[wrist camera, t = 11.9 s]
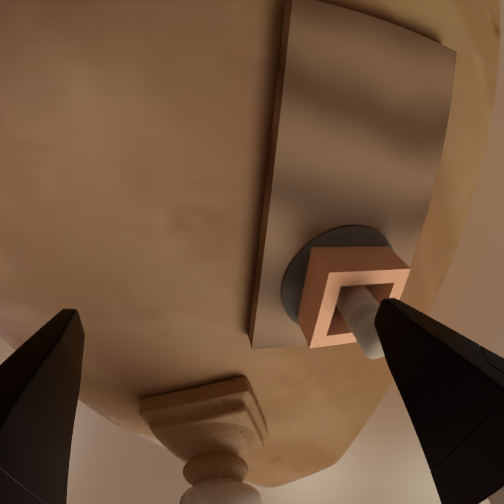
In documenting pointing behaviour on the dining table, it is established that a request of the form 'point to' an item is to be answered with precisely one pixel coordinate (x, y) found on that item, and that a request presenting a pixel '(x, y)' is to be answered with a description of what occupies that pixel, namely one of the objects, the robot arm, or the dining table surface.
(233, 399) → the candle holder
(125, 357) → the dining table surface
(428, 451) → the robot arm
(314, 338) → the collar
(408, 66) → the post board
